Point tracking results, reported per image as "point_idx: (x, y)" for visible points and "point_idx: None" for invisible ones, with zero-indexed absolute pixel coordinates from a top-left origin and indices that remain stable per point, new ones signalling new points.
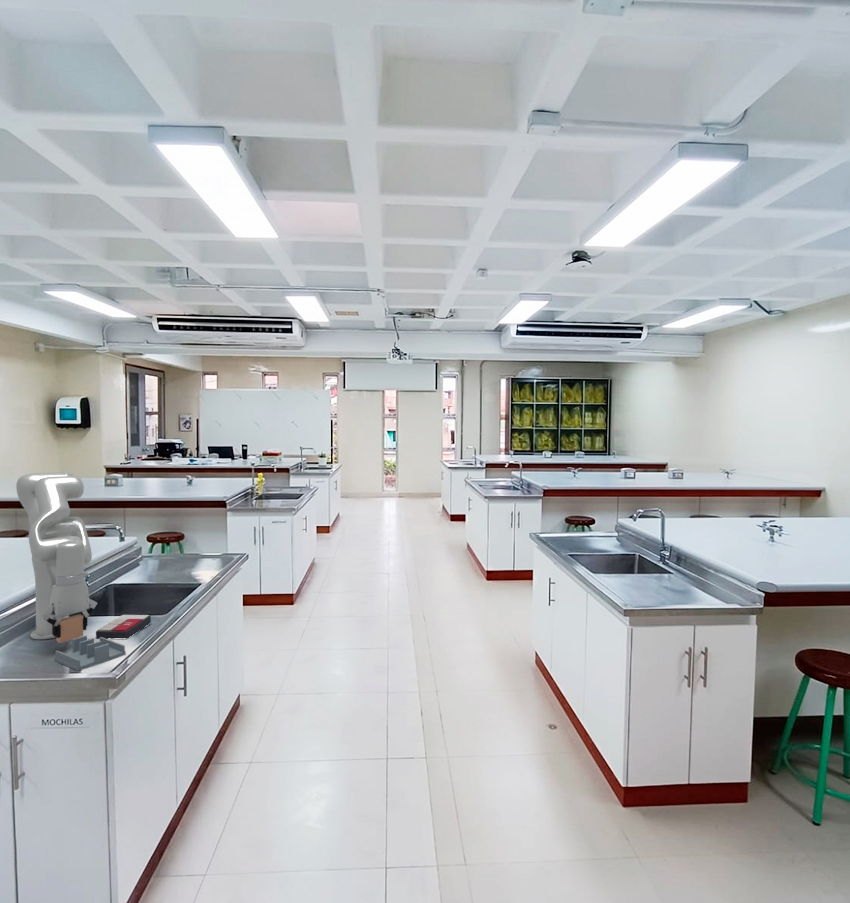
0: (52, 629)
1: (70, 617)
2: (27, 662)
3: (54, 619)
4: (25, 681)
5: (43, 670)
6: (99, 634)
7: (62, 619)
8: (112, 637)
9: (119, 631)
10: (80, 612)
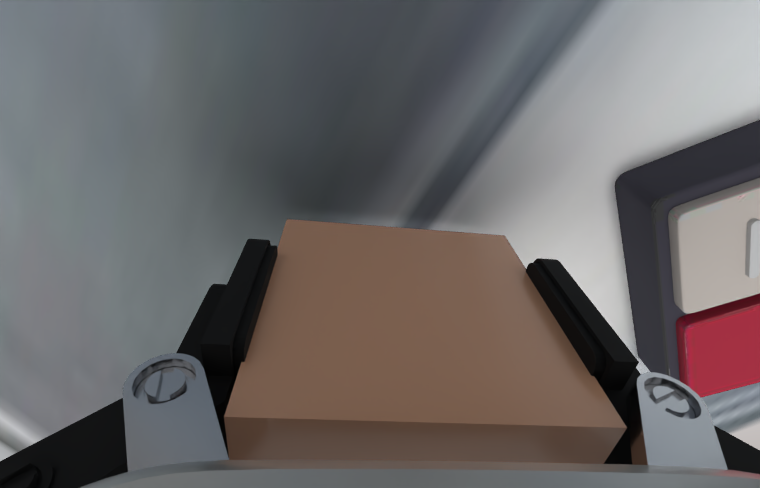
0: (193, 326)
1: (434, 455)
2: (67, 197)
3: (166, 456)
4: (10, 448)
5: (117, 399)
6: (639, 225)
7: (309, 443)
8: (636, 297)
9: (676, 360)
10: (640, 463)
